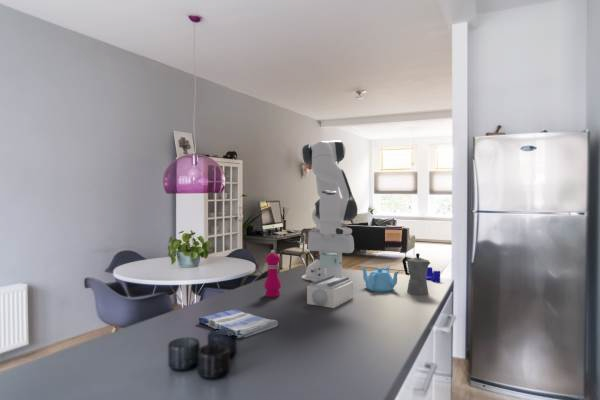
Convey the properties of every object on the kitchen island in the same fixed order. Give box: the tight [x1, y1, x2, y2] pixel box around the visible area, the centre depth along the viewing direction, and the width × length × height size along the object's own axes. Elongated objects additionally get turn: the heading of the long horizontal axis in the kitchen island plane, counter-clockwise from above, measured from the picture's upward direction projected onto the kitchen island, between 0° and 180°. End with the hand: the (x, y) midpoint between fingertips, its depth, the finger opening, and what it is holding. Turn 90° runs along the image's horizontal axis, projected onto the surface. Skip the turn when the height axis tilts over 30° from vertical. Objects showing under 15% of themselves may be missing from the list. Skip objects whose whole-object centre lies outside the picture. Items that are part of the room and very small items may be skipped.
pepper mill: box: [264, 249, 282, 298], centre depth 178 cm, size 7×7×20 cm
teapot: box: [360, 265, 401, 293], centre depth 189 cm, size 15×15×10 cm
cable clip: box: [426, 266, 441, 283], centre depth 211 cm, size 12×4×6 cm, turn 3°
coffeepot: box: [401, 252, 431, 296], centre depth 183 cm, size 15×9×18 cm, turn 33°
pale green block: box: [320, 253, 340, 269], centre depth 169 cm, size 4×11×5 cm, turn 148°
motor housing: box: [306, 275, 354, 309], centre depth 170 cm, size 12×22×9 cm, turn 148°
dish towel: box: [198, 309, 279, 339], centre depth 138 cm, size 17×24×3 cm
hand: (330, 262), depth 169 cm, fingers closed on pale green block, 4 cm apart
